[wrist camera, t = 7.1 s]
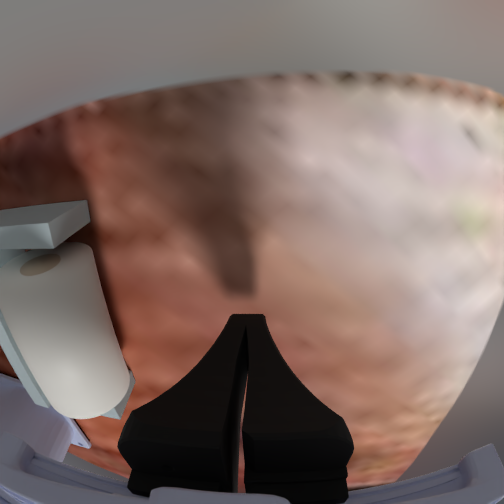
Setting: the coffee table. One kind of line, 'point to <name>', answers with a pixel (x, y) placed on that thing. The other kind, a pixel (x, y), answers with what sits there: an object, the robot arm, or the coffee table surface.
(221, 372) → the robot arm
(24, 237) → the holder
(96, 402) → the roll
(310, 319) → the coffee table surface
